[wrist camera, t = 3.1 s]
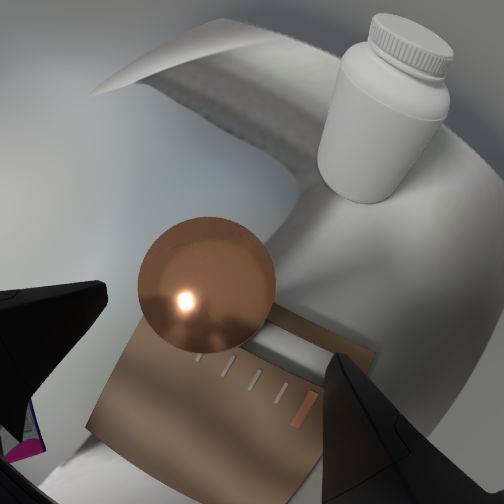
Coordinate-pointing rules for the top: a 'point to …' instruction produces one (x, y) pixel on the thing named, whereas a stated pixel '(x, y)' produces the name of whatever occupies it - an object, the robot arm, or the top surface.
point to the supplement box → (30, 442)
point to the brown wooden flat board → (218, 415)
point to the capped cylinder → (206, 285)
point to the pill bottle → (384, 108)
